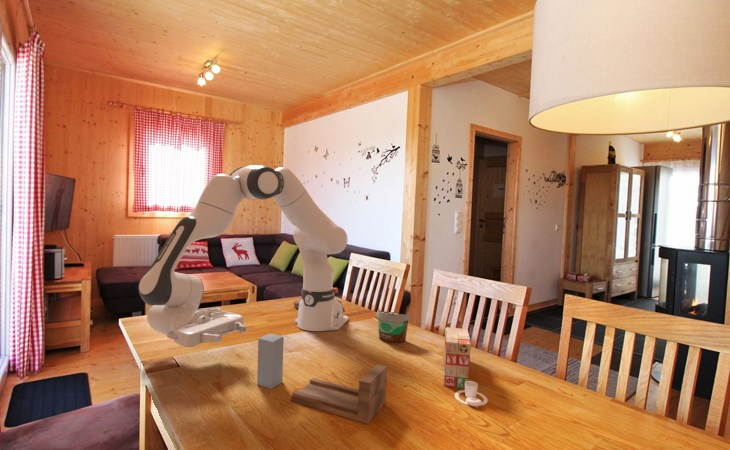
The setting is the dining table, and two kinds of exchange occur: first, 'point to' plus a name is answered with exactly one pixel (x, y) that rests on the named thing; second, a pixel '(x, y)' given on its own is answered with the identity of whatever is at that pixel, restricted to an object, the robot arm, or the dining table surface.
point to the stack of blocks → (456, 357)
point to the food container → (392, 326)
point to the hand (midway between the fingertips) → (232, 334)
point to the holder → (347, 396)
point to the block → (270, 360)
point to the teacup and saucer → (471, 394)
